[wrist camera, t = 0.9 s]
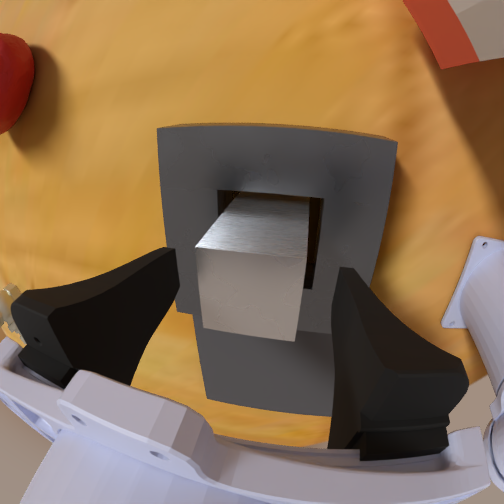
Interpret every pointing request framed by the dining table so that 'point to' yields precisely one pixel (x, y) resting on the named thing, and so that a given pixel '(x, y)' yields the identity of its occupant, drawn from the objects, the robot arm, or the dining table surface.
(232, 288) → the steel peg
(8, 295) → the valve
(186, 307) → the socket block
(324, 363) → the rubber mat
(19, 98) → the pomegranate
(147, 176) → the dining table surface
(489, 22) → the french fries container
